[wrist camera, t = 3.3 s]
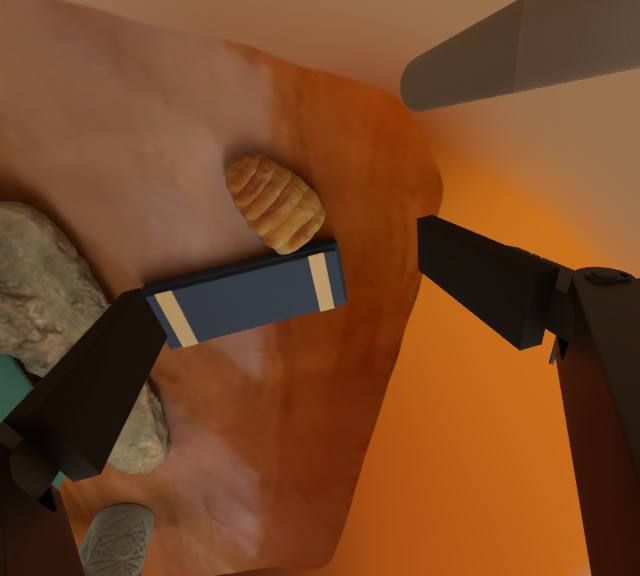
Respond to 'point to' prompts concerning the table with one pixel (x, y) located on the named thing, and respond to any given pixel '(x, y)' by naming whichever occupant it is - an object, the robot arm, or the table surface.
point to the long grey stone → (63, 321)
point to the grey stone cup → (117, 541)
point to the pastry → (274, 202)
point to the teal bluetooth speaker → (15, 392)
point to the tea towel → (248, 293)
